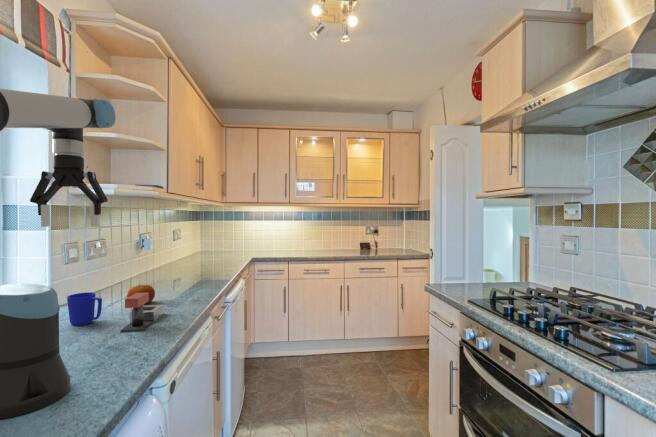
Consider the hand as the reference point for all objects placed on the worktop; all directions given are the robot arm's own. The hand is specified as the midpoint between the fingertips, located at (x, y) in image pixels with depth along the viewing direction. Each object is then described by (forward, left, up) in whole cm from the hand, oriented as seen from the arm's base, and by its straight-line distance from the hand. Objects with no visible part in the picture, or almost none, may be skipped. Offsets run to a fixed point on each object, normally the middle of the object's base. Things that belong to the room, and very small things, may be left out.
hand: (70, 226), depth 105 cm
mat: (+10, -15, -35) cm, 39 cm away
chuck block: (+20, -14, -35) cm, 42 cm away
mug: (+17, +5, -35) cm, 39 cm away
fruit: (+41, -4, -35) cm, 54 cm away
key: (+10, -15, -34) cm, 38 cm away
